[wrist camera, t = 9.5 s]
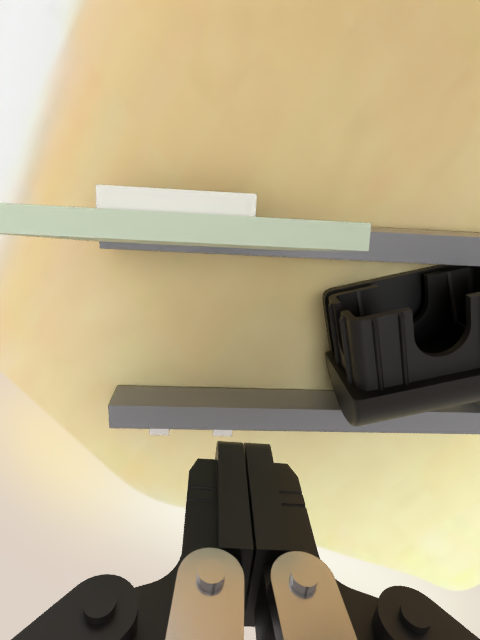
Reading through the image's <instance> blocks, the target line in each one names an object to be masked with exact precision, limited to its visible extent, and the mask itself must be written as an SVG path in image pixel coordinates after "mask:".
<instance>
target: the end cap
mask: <svg viewBox="0 0 480 640" xmlns="http://www.w3.org/2000/svg"><path fill="white" fill-rule="evenodd" d="M323 305H324V312H325V319H326V326H327V333H328V340H329V346H330V351H329V352H327V353H326V360H327V365H328V370H329V374H330V378H331V382H332V385H333V389H334V392H335V395H336V398H337V401H338V404H339V406H340V409H341V411H342V413H343V415H344V417H345V418H346V420H347V421H348V422H349V424H351V425H352V426H355V427H357V426H362V425H367V424H372V423H376V422H381V421H386V420H391V419H395V418H400V417H405V416H410V415H415V414H419V413H424V412H429V411H434V410H438V409H443V408H448V407H453V406H457V405H462V404H467V403H472V402H476V401H480V266H464V265H443V264H441V265H436V266H431V267H427V268H422V269H418V270H413V271H408V272H404V273H399V274H394V275H390V276H385V277H380V278H376V279H371V280H367V281H362V282H357V283H353V284H348V285H343V286H339V287H334V288H330V289H328V290H326V291H325V293H324V294H323Z"/></svg>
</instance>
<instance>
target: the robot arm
mask: <svg viewBox="0 0 480 640" xmlns="http://www.w3.org/2000/svg"><path fill="white" fill-rule="evenodd" d="M244 626H252V627H254V626H255V629H256V640H480V639H479V638H477V637H476V636H475V635H474V634H473V633H471V632H470V631H469V630H468V629H466V628H465V627H464V626H463V625H462V624H460V623H459V622H458V621H457V620H455V619H454V618H453V617H452V616H450V615H449V614H448V613H447V612H445V611H444V610H443V609H442V608H441V607H439V606H438V605H437V604H436V603H434V602H433V601H432V600H431V599H429V598H428V597H427V596H425V595H424V594H422V593H420V592H419V591H417V590H414V589H412V588H409V587H405V586H392V587H389V588H387V589H385V590H384V591H383V592H382V593H381V595H380V597H379V598H376V597H373V596H371V595H368V594H365V593H362V592H359V591H356V590H354V589H351V588H349V587H347V586H345V585H343V584H341V583H340V582H339V581H337V580H336V579H335V578H334V576H333V573H332V572H331V570H330V569H329V568H328V566H327V565H326V564H325V563H324V562H322V561H321V560H320V558H319V555H318V551H317V547H316V544H315V540H314V536H313V532H312V529H311V525H310V521H309V517H308V513H307V510H306V508H305V502H304V498H303V495H302V491H301V487H300V483H299V480H298V477H297V475H296V474H295V473H294V472H293V470H292V469H291V468H290V467H289V465H288V464H281V463H274V462H273V457H272V452H271V447H270V445H269V444H256V443H244V445H243V443H239V442H223V441H218V442H217V447H216V456H215V460H213V459H197V461H196V462H195V464H194V465H193V466H192V468H191V469H190V471H189V480H188V491H187V502H186V513H185V524H184V535H183V547H182V555H181V557H180V560H179V562H178V564H177V565H176V567H175V568H174V569H173V570H172V571H171V572H170V573H169V574H168V575H166V576H165V577H164V578H162V579H160V580H158V581H155V582H153V583H150V584H146V585H143V586H139V587H136V588H134V587H133V586H132V585H131V584H130V582H128V581H127V580H126V579H124V578H122V577H120V576H116V575H109V574H106V575H99V576H94V577H92V578H89V579H87V580H85V581H83V582H82V583H80V584H79V585H77V586H76V587H75V588H74V589H72V590H71V591H70V592H69V593H67V594H66V595H65V596H64V597H63V598H61V599H60V600H59V601H58V602H57V603H55V604H54V605H53V606H52V607H50V608H49V609H48V610H47V611H46V612H44V614H42V615H41V616H39V617H38V618H37V619H36V620H35V621H33V622H32V623H31V624H30V625H28V626H27V627H26V628H25V629H24V630H22V631H21V632H20V633H19V634H17V635H16V636H15V637H14V638H13V639H11V640H244Z"/></svg>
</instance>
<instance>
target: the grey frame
mask: <svg viewBox="0 0 480 640" xmlns="http://www.w3.org/2000/svg"><path fill="white" fill-rule="evenodd" d="M99 243H100V248H104V249H125V250H146V251H167V252H188V253H210V254H231V255H252V256H273V257H294V258H316V259H337V260H358V261H379V262H400V263H421V264H443V265H464V266H480V233H477V232H459V231H440V230H421V229H403V228H384V227H371V232H370V243H369V251H286V250H266V249H245V248H224V247H204V246H183V245H162V244H142V243H121V242H100V241H99ZM108 410H109V428H137V429H149V435H169V431H170V429H198V430H213V436H232V430H259V431H319V432H380V433H441V434H480V401H476V402H472V403H467V404H462V405H457V406H453V407H448V408H443V409H438V410H434V411H429V412H424V413H419V414H415V415H410V416H405V417H400V418H395V419H391V420H386V421H381V422H376V423H372V424H367V425H362V426H357V427H355V426H352V425H351V424H349V422H348V421H347V420H346V418H345V417H344V415H343V413H342V411H341V409H340V406H339V404H338V401H337V398H336V395H335V392H334V391H331V390H289V389H247V388H205V387H163V386H121V385H117V387H116V390H115V392H114V394H113V396H112V398H111V400H110V403H109V405H108Z"/></svg>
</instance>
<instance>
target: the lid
mask: <svg viewBox="0 0 480 640" xmlns="http://www.w3.org/2000/svg"><path fill="white" fill-rule="evenodd" d="M256 198H257V194H250V193H232V192H215V191H198V190H181V189H164V188H146V187H129V186H112V185H96V208H83V207H65V206H46V205H28V204H9V203H0V234H7V235H20V236H33V237H46V238H60V239H73V240H86V241H100V242H121V243H142V244H162V245H183V246H204V247H224V248H245V249H266V250H286V251H369V243H370V232H371V223H361V222H342V221H324V220H305V219H287V218H268V217H256Z"/></svg>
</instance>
